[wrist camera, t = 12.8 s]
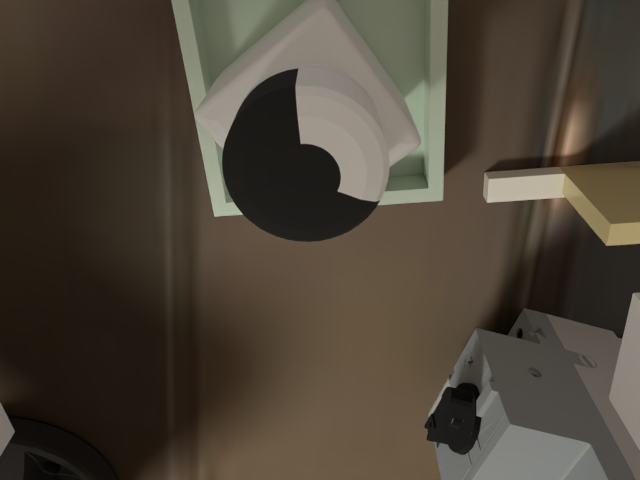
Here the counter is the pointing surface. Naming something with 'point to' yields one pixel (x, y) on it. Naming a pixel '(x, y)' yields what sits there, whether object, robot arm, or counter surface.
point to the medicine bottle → (308, 126)
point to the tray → (382, 38)
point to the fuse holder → (580, 194)
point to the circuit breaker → (533, 406)
